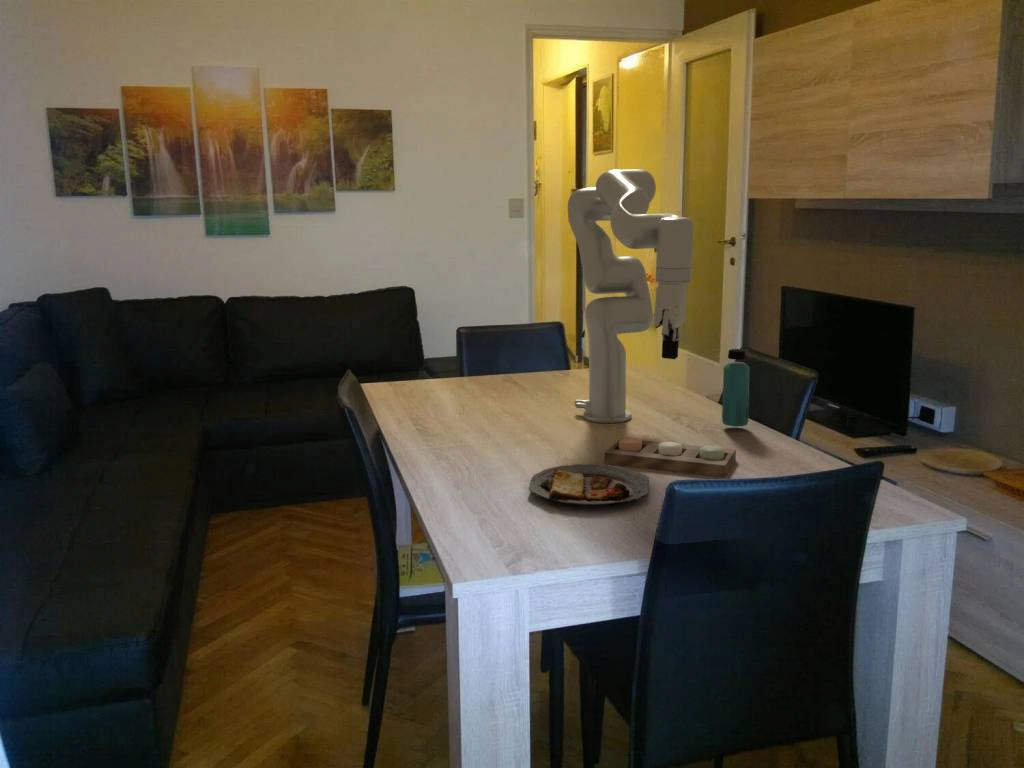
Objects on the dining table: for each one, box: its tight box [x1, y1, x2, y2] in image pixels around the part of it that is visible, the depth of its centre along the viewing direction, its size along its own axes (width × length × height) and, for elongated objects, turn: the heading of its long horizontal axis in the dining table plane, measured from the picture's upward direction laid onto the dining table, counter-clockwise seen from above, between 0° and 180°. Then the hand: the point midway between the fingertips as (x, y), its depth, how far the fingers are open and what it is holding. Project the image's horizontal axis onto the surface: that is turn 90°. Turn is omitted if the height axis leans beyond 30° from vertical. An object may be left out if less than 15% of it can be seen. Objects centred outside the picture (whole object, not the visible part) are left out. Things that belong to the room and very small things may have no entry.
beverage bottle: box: [721, 348, 751, 427], centre depth 210 cm, size 6×7×20 cm
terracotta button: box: [619, 437, 642, 452], centre depth 190 cm, size 5×5×4 cm
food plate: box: [528, 463, 650, 507], centre depth 170 cm, size 25×23×4 cm
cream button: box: [659, 441, 682, 456], centre depth 187 cm, size 5×5×4 cm
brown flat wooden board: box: [603, 437, 737, 478], centre depth 187 cm, size 26×12×2 cm, turn 65°
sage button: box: [700, 445, 725, 461], centre depth 183 cm, size 5×5×4 cm
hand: (669, 357), depth 190 cm, fingers closed
